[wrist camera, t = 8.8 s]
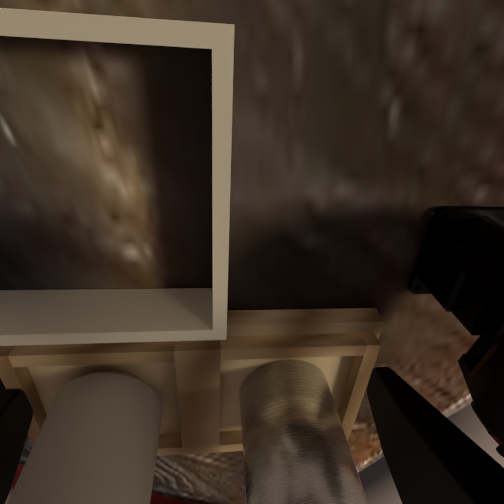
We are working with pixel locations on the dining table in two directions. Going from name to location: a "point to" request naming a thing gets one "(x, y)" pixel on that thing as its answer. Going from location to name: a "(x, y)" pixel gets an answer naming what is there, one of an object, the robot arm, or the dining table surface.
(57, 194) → the dining table surface
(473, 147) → the dining table surface
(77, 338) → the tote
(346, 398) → the wooden divided tray
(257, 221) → the dining table surface
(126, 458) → the can
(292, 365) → the steel billet
